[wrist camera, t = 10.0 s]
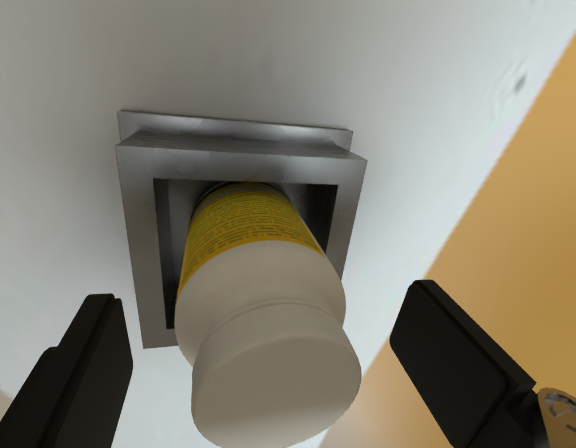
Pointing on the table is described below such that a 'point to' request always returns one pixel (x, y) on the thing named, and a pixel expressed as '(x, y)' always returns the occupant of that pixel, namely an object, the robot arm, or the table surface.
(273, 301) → the pill bottle
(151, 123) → the socket
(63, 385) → the robot arm
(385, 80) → the table surface
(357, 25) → the table surface
